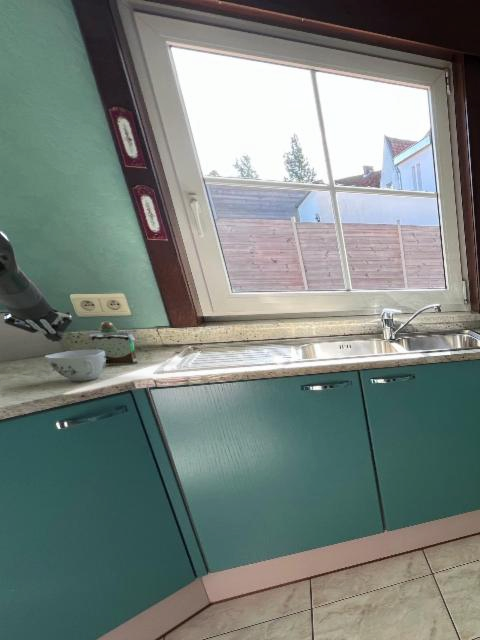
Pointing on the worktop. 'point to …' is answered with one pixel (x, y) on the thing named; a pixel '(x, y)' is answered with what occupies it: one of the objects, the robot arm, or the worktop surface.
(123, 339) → the food container
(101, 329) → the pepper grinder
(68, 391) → the worktop surface
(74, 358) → the teacup
